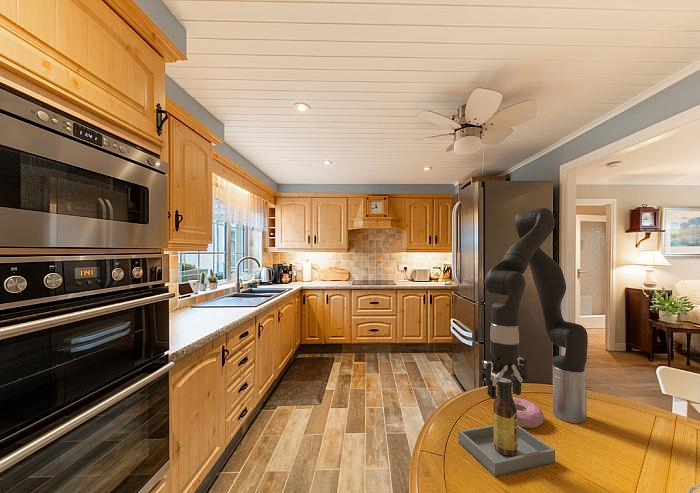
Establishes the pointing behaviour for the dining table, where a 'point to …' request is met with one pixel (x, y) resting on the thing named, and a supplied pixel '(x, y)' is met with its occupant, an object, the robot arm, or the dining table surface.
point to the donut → (528, 413)
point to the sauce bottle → (505, 419)
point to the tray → (497, 464)
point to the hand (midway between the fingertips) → (504, 395)
